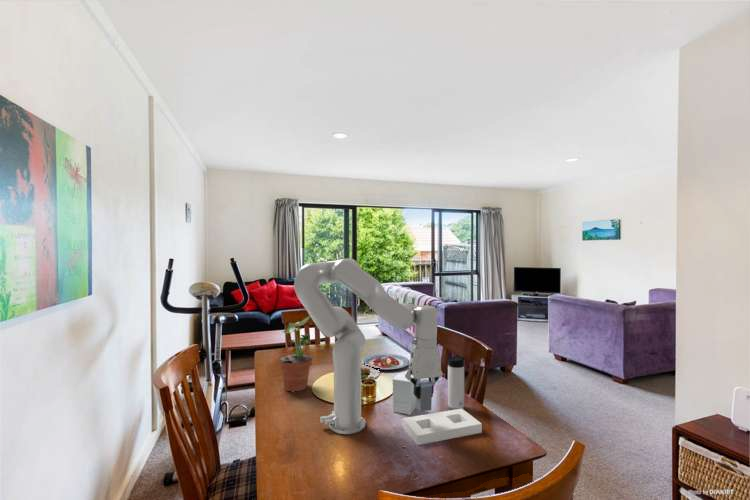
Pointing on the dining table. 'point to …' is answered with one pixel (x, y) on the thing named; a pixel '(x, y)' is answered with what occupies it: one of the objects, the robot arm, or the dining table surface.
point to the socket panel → (441, 426)
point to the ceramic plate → (386, 361)
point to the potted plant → (296, 362)
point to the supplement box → (403, 395)
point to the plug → (424, 396)
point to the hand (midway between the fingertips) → (423, 395)
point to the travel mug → (456, 382)
